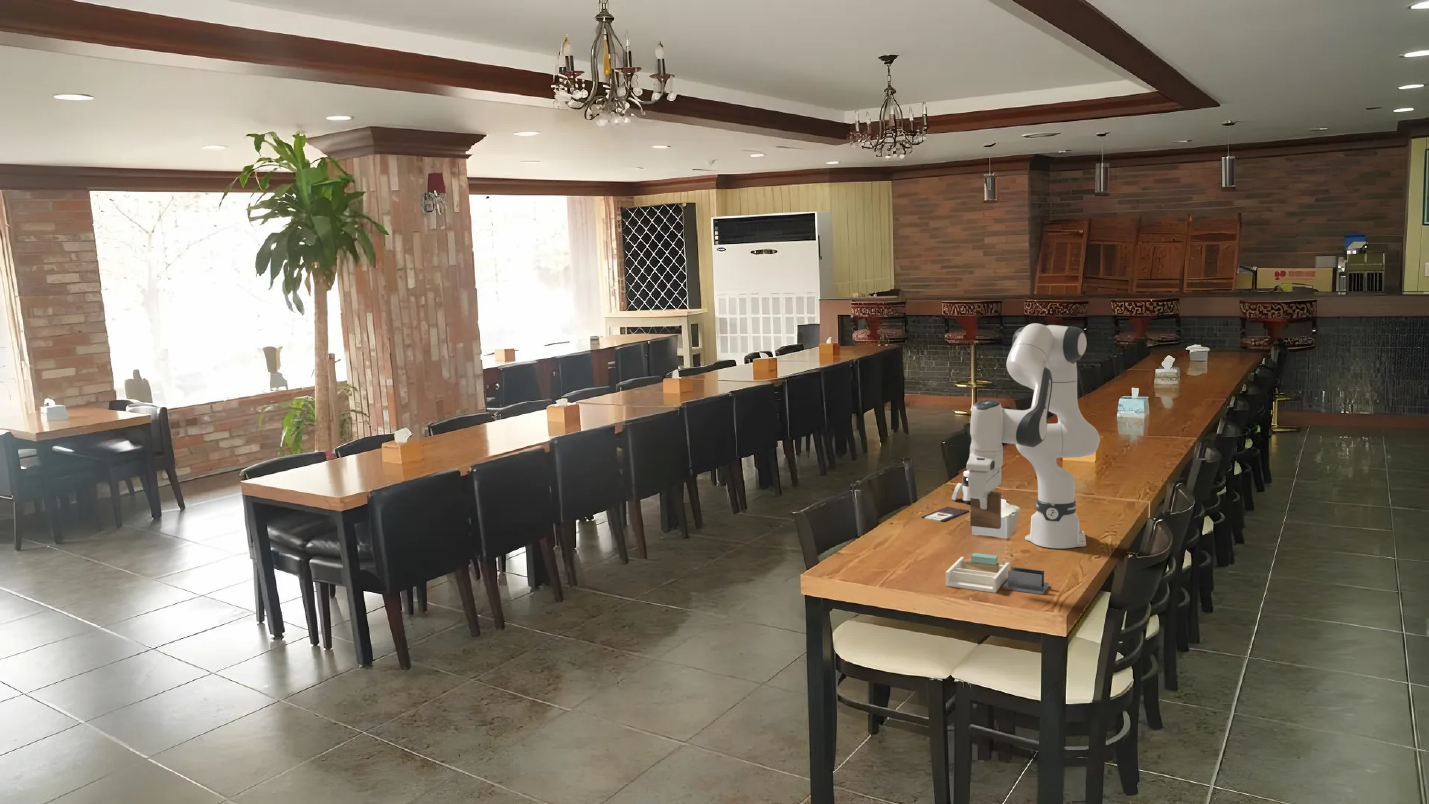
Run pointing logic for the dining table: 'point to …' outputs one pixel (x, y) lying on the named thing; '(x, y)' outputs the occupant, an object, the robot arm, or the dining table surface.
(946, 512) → the chocolate bar
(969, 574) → the rack
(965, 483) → the spread jar
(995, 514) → the walnut board
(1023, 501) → the dining table surface
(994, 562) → the teal offcut
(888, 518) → the dining table surface
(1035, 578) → the stand
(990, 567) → the oak offcut
